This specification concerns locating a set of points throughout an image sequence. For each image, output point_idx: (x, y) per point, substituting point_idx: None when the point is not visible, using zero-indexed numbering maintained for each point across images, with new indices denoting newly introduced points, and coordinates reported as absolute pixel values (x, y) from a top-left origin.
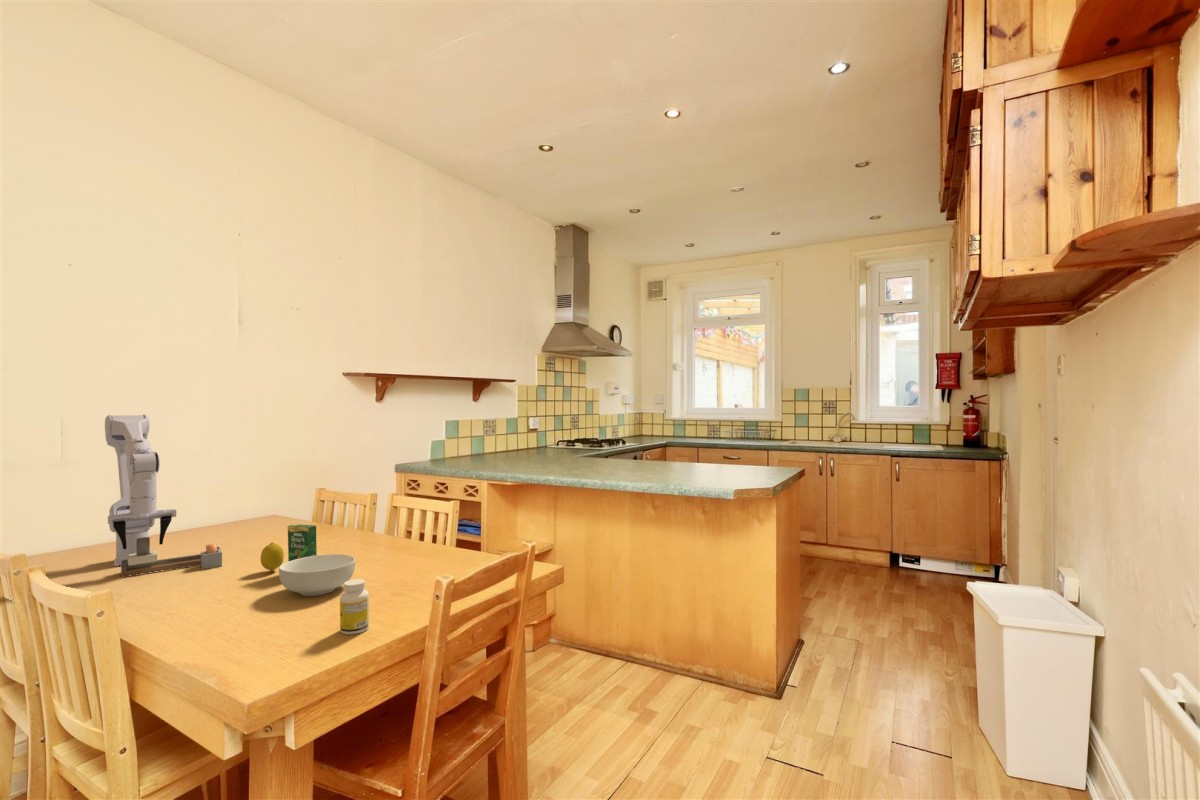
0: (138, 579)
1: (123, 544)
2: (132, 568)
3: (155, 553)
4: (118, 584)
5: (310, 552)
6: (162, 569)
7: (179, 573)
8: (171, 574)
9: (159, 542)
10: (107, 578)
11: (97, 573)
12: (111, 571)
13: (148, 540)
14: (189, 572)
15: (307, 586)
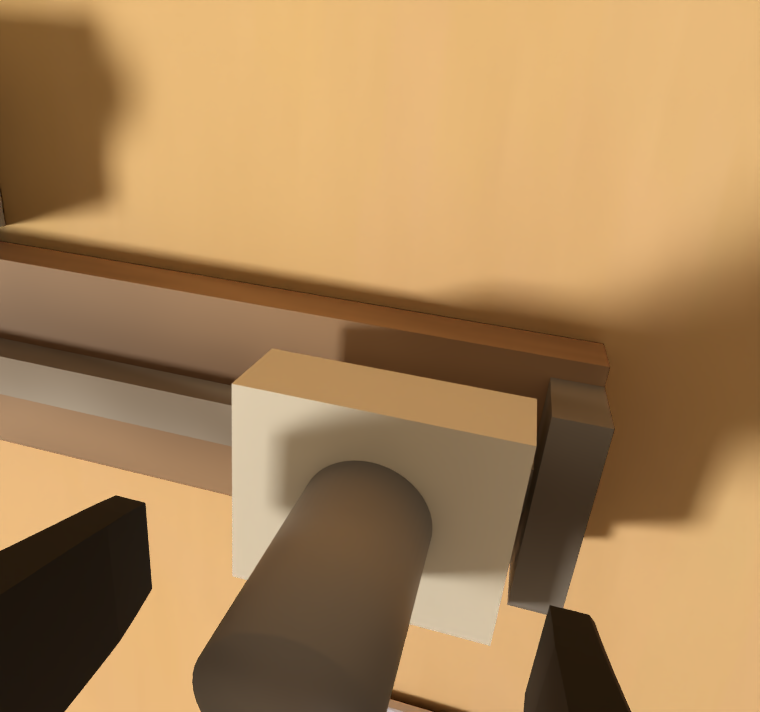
0: (489, 119)
1: (602, 675)
2: None
3: (247, 446)
4: (701, 36)
5: None
6: (267, 294)
7: (148, 59)
8: (211, 79)
9: (121, 519)
10: (702, 425)
11: (708, 668)
12: (606, 639)
13: (228, 613)
14: (70, 22)
15: None
